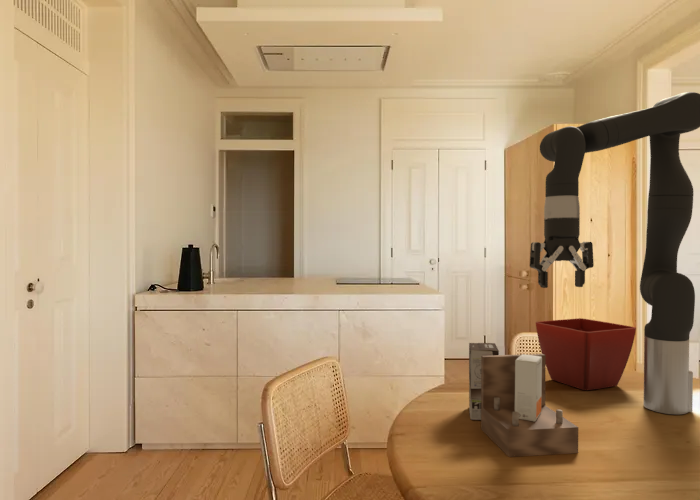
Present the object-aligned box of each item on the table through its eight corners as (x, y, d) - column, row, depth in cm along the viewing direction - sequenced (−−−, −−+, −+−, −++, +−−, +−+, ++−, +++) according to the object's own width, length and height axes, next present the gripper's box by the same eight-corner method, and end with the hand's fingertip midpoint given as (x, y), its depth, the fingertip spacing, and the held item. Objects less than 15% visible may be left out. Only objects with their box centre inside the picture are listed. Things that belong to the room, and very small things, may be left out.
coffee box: (499, 422, 114) (499, 350, 114) (469, 420, 116) (469, 349, 115) (495, 408, 123) (496, 342, 123) (468, 406, 124) (468, 341, 124)
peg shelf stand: (542, 426, 112) (542, 353, 111) (578, 452, 98) (578, 370, 97) (481, 429, 110) (481, 355, 110) (508, 456, 96) (509, 372, 96)
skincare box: (536, 422, 100) (536, 362, 100) (514, 418, 102) (514, 359, 102) (542, 413, 105) (542, 356, 105) (521, 409, 107) (521, 353, 107)
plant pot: (580, 371, 157) (581, 317, 157) (637, 387, 140) (638, 327, 139) (533, 378, 149) (533, 321, 149) (587, 396, 132) (587, 332, 132)
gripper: (581, 217, 121) (581, 285, 121) (524, 217, 119) (524, 286, 119) (600, 216, 113) (600, 288, 114) (540, 216, 112) (539, 289, 112)
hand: (561, 287), depth 117 cm, fingers open, 8 cm apart
